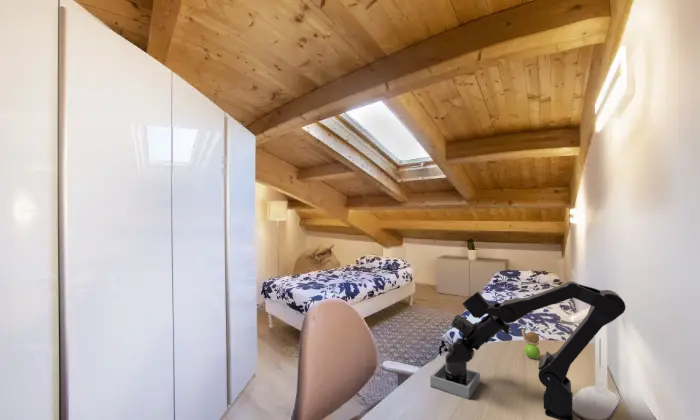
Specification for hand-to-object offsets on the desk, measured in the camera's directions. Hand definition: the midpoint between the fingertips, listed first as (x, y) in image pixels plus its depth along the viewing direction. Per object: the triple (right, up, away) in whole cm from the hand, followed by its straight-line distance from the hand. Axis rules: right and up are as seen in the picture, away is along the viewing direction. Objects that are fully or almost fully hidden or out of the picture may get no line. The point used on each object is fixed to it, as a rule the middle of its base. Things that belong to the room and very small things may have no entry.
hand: (451, 356), depth 107 cm
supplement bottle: (+1, -9, -1) cm, 9 cm away
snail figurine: (+39, -10, +21) cm, 45 cm away
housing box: (+1, -9, -1) cm, 9 cm away
